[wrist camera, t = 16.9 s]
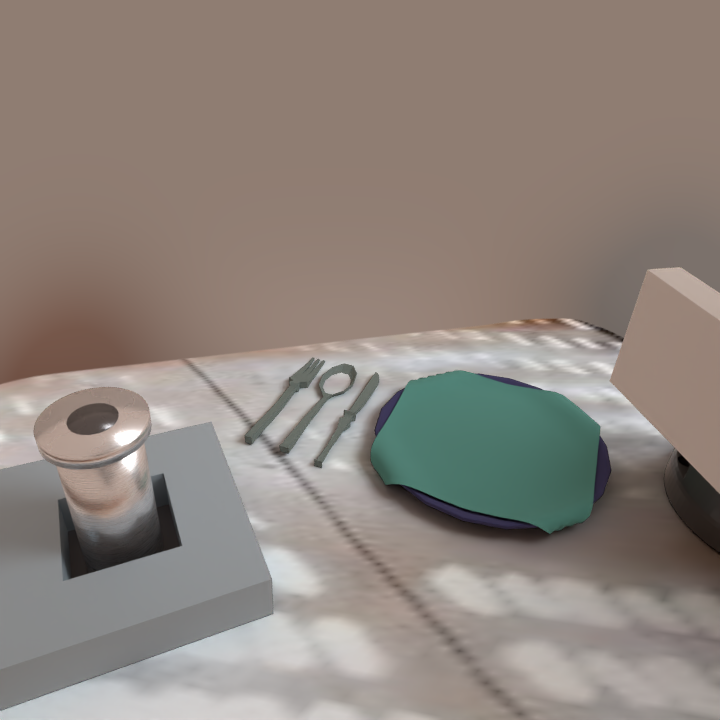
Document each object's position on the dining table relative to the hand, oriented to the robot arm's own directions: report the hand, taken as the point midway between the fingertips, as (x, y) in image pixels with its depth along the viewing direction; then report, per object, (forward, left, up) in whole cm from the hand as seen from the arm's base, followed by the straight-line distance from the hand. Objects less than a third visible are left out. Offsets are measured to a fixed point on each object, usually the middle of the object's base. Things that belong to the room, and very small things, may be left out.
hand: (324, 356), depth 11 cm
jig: (+5, -22, -29) cm, 37 cm away
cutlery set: (-21, -26, -30) cm, 45 cm away
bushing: (+5, -22, -29) cm, 37 cm away
